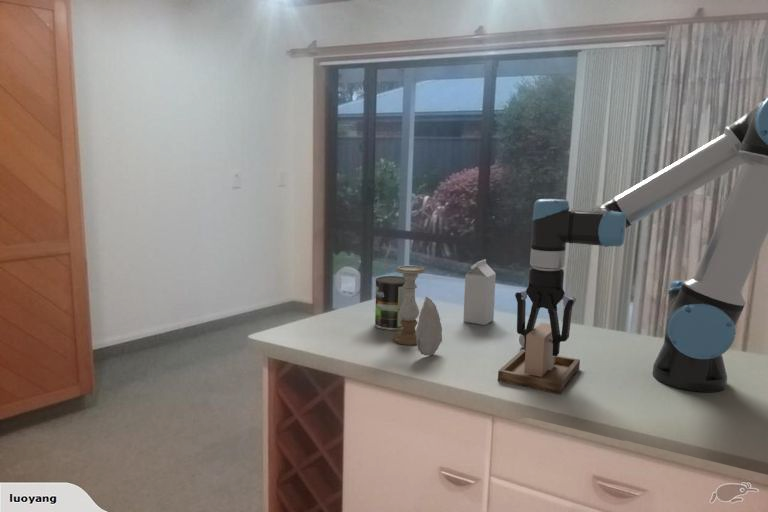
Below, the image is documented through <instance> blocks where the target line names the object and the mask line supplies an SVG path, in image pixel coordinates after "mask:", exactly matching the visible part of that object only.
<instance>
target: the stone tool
mask: <svg viewBox="0 0 768 512" xmlns="http://www.w3.org/2000/svg"><path fill="white" fill-rule="evenodd" d="M415 330H416V338H417V344H416V346H417V349H418V352H419V353H420V355H423V356H434V355H435V354H436V351H438V349H439V347H440V345H441V343H442V342H443V328H442V323H441V318H440V314H439V311H438V309H437V305H436V304H435V302H434V301H433V300H432V299H431V298H430V297H428V296H425V298H424V302H423V304H422V308H421V309H420V311H419V316H418V324H417V325H416V328H415Z"/></svg>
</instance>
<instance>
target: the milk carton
mask: <svg viewBox="0 0 768 512" xmlns="http://www.w3.org/2000/svg"><path fill="white" fill-rule="evenodd" d="M469 268H470V270H469V271H468V272H467V273H465V275H464V276H465V277H464V296H463V297H464V303H463V322H464V323H470V324H474V325H475V324H476V325H482V326H486V325H488V324H490V323H491V322H493V321H494V315H495V295H496V293H495V292H496V277H497V275H496V271H494V270H493V269H492V267H490V266H489V265H488V264H487V259H485V258H484V259H482V260H480V261H476V263H474V264H472V265H471V266H470V267H469Z"/></svg>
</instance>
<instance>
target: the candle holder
mask: <svg viewBox="0 0 768 512" xmlns="http://www.w3.org/2000/svg"><path fill="white" fill-rule="evenodd" d="M395 271H396V272H397V273H398V274H399V273H400V274H402V276H401V277H403V278H404V279H405V284H404V285H403V288H405V296H404V301H403V303H402V305H401V308H400V311H399V313H400V316H401V318H402V320H401V321H400V323H401V324H402V327H403V329H402V330H397V331H396V333H395V334H393V335H392V341H393V342H394V343H397V344H399V345H405V346H411V345H413V346H414V345H417V338H416V328H417V326H418V323H419V321H418V320H417V318H419V316H420V309H419V307H418V305H417V304H418V303H417V301H416V289H417V288H418V286H417V284H416V280H417V278H418V277H419V275H420V274H423V273H425V268H424V267H423V266H419V265H399V266H397V267H396V270H395Z"/></svg>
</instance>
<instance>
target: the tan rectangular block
mask: <svg viewBox="0 0 768 512" xmlns="http://www.w3.org/2000/svg"><path fill="white" fill-rule="evenodd" d="M552 339H553V338H552V331H551V324H550V323H547V322H546V323H545V322H540V323H539V324H538V325H537V326H535V327H534V329H533V330H532V331H531V332H530V333H528V334H527V335H526V351H525V368H524V374H529V375H534V376H539V377H542V376H543V375H544V374H545V373H546V372H547V371H548V355H549V342H550V341H551V340H552ZM555 362H556V356H555V357H554V363H555Z"/></svg>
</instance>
